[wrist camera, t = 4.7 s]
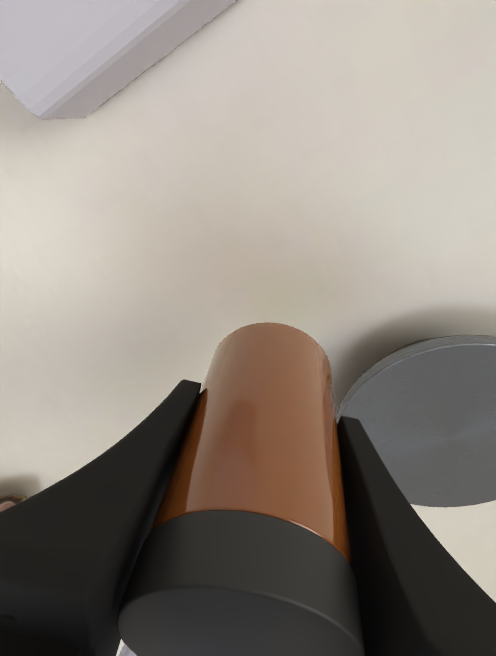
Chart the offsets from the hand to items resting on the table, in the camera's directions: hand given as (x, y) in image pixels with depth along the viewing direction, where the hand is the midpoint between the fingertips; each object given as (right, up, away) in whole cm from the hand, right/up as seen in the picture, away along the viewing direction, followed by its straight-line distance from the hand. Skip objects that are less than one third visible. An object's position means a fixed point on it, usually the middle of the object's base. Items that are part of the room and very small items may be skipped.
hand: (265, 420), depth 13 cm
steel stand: (+11, -1, +10) cm, 15 cm away
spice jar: (0, +1, +2) cm, 3 cm away
